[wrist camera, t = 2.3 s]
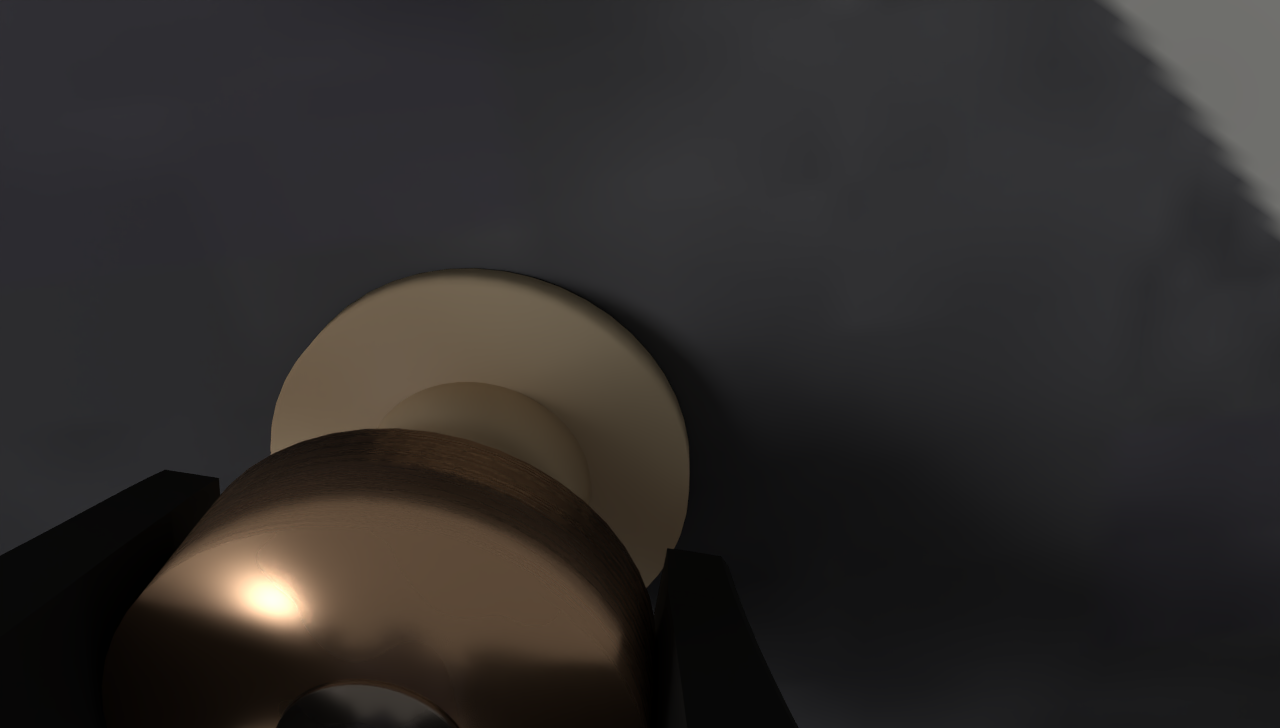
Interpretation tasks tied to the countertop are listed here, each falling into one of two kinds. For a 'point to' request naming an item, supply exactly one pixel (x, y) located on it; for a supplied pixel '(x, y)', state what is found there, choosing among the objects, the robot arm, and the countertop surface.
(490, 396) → the stand
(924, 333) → the countertop surface
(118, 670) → the disc
